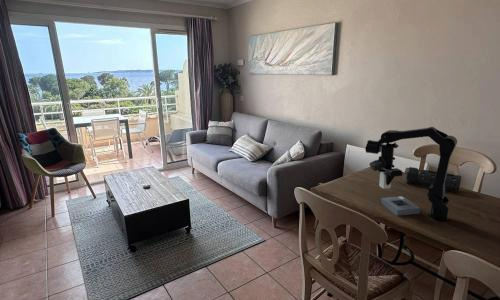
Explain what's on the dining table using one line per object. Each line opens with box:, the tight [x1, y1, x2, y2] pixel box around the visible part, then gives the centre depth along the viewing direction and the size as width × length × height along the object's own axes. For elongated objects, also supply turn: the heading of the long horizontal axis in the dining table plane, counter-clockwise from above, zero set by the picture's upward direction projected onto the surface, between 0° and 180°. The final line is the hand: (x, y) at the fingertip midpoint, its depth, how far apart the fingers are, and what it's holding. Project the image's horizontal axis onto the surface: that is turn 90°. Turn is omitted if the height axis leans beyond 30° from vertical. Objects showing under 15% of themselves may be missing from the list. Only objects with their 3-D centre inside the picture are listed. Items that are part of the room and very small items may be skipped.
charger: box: [379, 171, 392, 190], centre depth 148 cm, size 4×4×8 cm
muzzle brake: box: [403, 166, 462, 193], centre depth 168 cm, size 10×28×10 cm, turn 50°
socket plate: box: [380, 195, 421, 217], centre depth 145 cm, size 14×12×3 cm
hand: (385, 183), depth 148 cm, fingers closed on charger, 4 cm apart
